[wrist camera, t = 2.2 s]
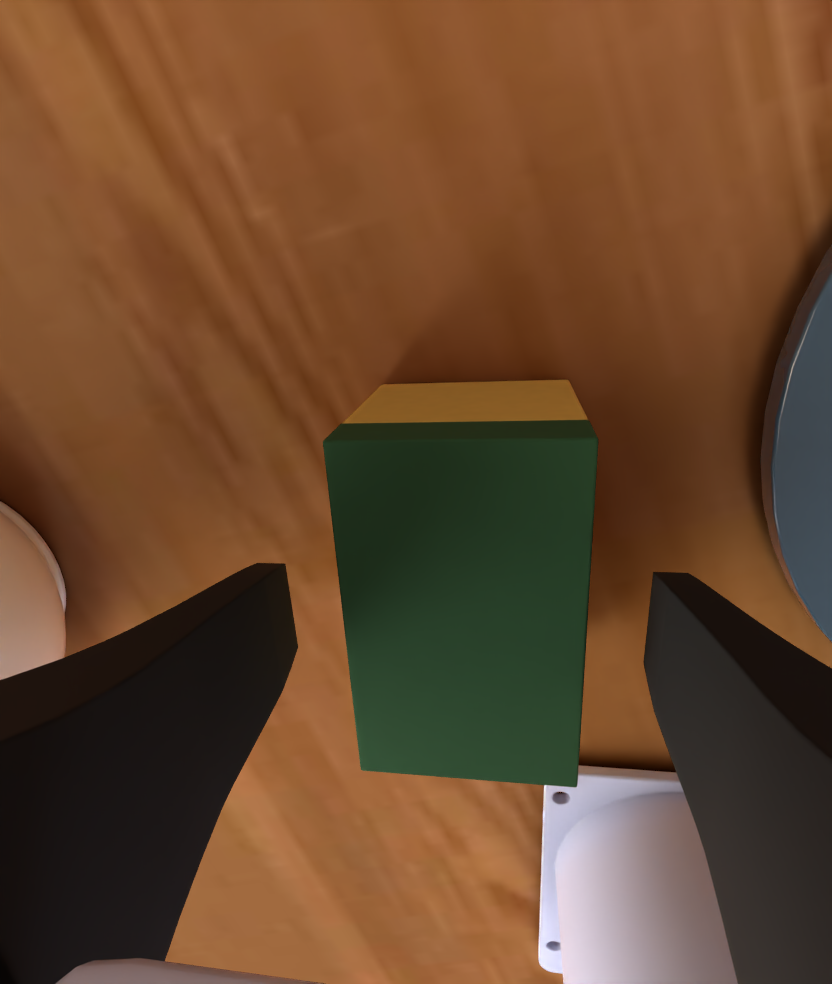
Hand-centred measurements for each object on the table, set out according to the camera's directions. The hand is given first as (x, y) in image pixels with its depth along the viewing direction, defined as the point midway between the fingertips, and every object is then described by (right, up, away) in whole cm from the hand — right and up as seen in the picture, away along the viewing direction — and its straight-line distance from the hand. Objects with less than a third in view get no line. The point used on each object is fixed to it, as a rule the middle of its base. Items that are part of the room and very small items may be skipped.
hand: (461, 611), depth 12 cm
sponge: (+1, +2, +4) cm, 5 cm away
